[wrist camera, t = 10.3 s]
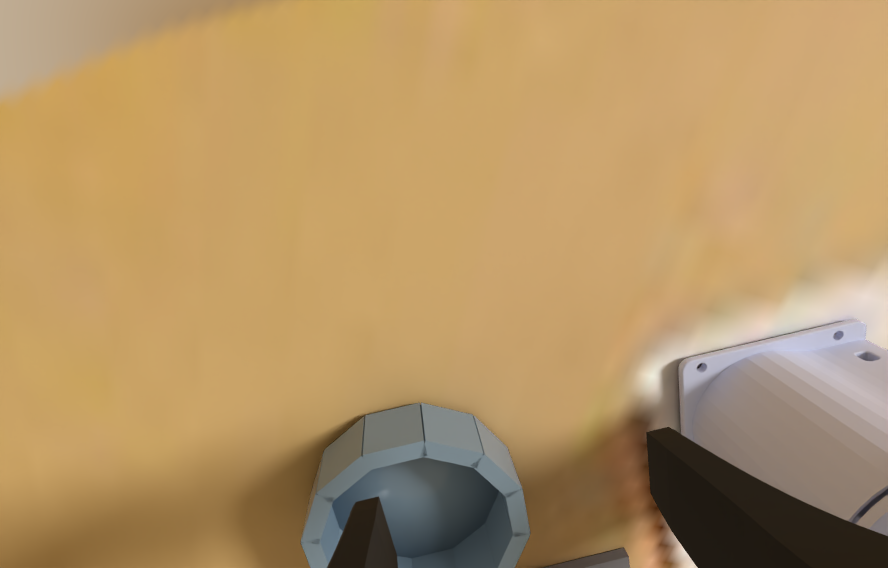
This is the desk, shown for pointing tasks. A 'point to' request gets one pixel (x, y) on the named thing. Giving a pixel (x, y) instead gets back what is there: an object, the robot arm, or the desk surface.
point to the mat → (599, 561)
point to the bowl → (422, 490)
